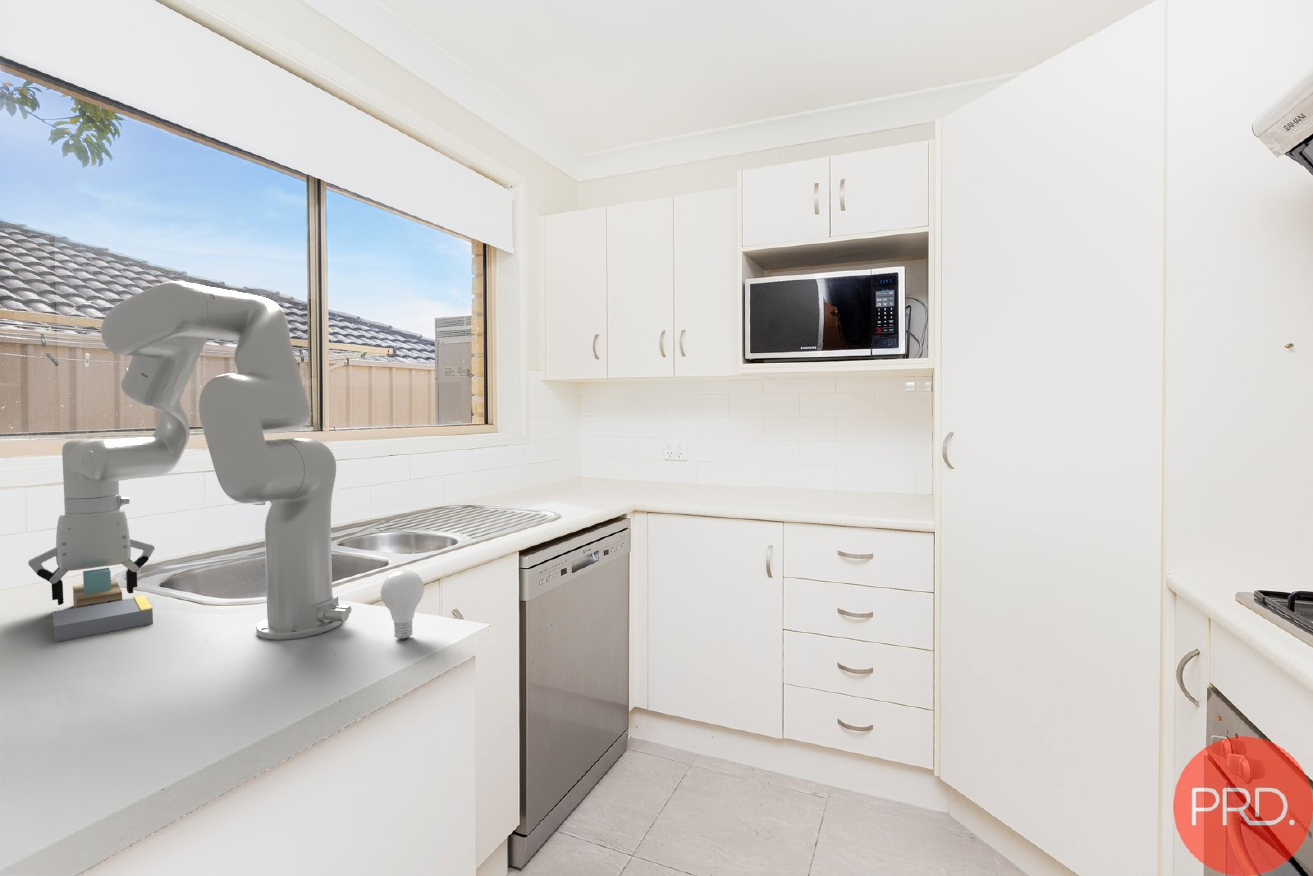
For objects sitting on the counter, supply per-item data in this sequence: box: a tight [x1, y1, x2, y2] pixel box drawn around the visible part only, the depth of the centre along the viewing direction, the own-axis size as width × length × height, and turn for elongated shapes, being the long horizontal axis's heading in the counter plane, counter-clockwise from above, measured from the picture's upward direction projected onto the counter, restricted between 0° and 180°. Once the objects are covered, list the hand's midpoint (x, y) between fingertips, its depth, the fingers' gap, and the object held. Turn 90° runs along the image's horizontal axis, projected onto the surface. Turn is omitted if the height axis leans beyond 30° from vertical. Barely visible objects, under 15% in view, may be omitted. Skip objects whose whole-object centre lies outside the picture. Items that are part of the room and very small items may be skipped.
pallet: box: [72, 578, 123, 608], centre depth 113 cm, size 12×6×4 cm, turn 45°
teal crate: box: [82, 567, 112, 594], centre depth 112 cm, size 4×4×4 cm
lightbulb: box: [380, 569, 425, 640], centre depth 98 cm, size 6×6×11 cm
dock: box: [52, 595, 154, 643], centre depth 105 cm, size 10×12×3 cm
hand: (96, 597), depth 115 cm, fingers open, 9 cm apart
